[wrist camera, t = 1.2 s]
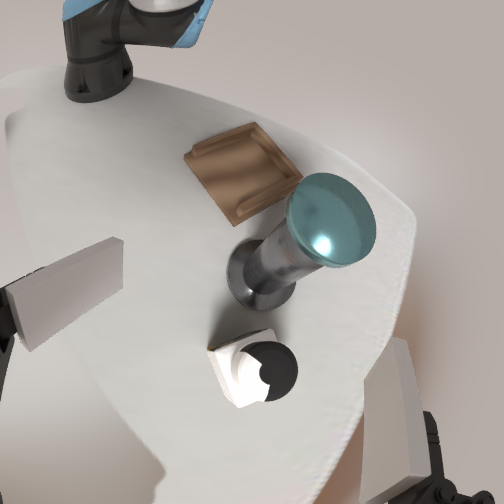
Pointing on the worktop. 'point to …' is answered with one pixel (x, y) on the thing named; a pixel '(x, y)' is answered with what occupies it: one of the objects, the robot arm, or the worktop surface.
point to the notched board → (243, 171)
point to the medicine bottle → (254, 367)
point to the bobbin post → (304, 241)
